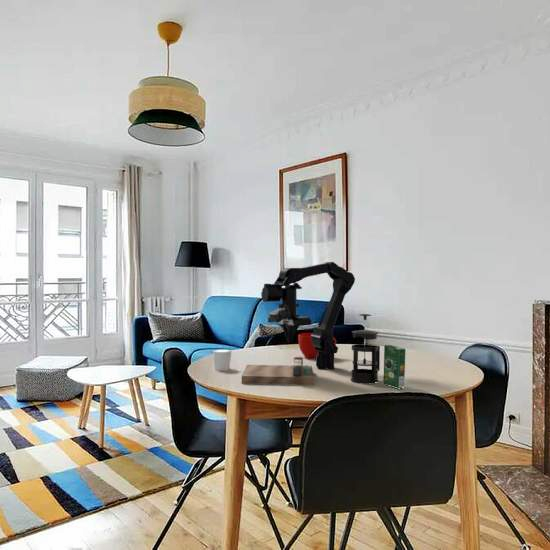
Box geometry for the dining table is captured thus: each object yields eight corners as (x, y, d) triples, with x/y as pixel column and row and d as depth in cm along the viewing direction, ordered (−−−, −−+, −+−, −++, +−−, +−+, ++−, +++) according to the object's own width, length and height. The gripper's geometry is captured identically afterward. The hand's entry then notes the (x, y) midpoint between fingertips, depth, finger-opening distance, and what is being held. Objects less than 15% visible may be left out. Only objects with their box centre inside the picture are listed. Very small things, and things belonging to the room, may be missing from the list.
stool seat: (311, 372, 174) (311, 360, 174) (314, 385, 154) (314, 371, 154) (247, 371, 175) (247, 359, 175) (241, 383, 155) (241, 369, 155)
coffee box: (405, 389, 150) (406, 348, 150) (398, 389, 149) (398, 348, 149) (390, 383, 158) (390, 344, 158) (382, 384, 156) (383, 345, 156)
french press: (362, 385, 154) (363, 315, 155) (343, 380, 162) (344, 313, 162) (387, 381, 161) (388, 314, 161) (368, 376, 169) (368, 312, 169)
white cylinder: (216, 371, 175) (216, 352, 175) (210, 368, 181) (210, 349, 181) (233, 369, 178) (234, 351, 178) (227, 366, 184) (227, 348, 184)
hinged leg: (294, 365, 173) (294, 357, 173) (302, 366, 173) (302, 357, 173) (292, 375, 155) (292, 366, 155) (301, 376, 155) (301, 366, 155)
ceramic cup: (337, 360, 201) (338, 337, 201) (298, 359, 202) (298, 336, 202) (334, 355, 214) (334, 333, 214) (297, 354, 215) (297, 332, 215)
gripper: (256, 301, 179) (257, 342, 179) (289, 303, 164) (290, 347, 164) (279, 299, 186) (279, 339, 186) (312, 302, 172) (312, 344, 172)
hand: (289, 342), depth 177 cm, fingers closed
